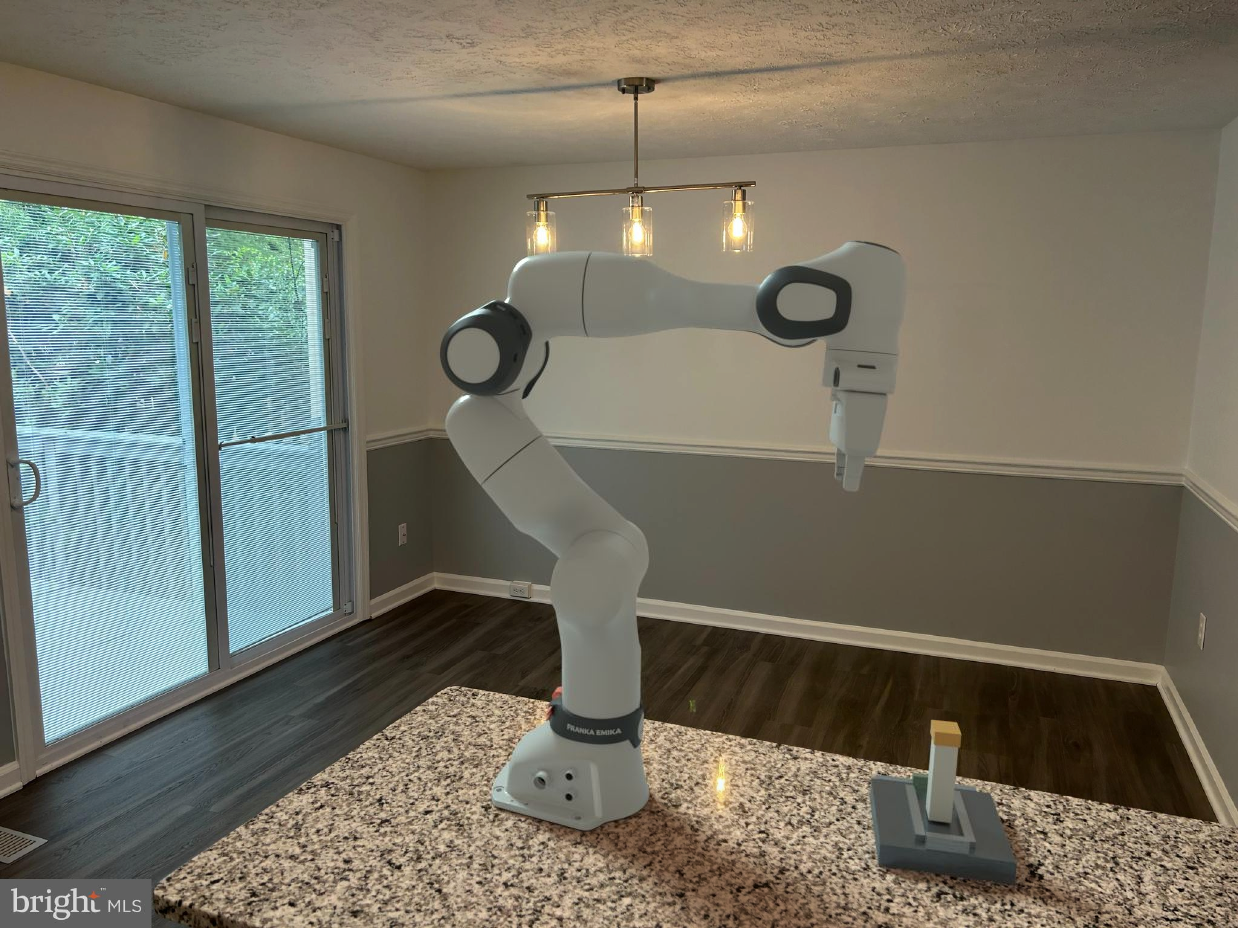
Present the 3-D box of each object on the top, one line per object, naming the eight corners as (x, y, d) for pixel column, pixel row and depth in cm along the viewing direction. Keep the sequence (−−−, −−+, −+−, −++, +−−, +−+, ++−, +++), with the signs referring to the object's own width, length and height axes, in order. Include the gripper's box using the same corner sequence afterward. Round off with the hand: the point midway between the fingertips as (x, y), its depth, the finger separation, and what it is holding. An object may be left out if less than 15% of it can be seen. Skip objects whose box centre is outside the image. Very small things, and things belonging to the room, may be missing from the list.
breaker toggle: (927, 820, 113) (934, 731, 111) (923, 806, 117) (931, 719, 114) (953, 823, 113) (961, 734, 110) (949, 809, 116) (957, 722, 114)
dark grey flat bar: (876, 796, 125) (877, 788, 125) (874, 781, 129) (875, 774, 128) (979, 809, 122) (980, 801, 122) (974, 794, 126) (975, 786, 126)
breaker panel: (878, 865, 109) (881, 830, 108) (869, 797, 124) (872, 766, 124) (1014, 884, 106) (1018, 849, 105) (988, 812, 121) (991, 780, 120)
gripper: (825, 373, 119) (814, 473, 120) (842, 374, 99) (827, 493, 100) (872, 377, 118) (860, 478, 120) (899, 379, 98) (883, 499, 99)
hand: (845, 485), depth 110 cm, fingers open, 8 cm apart
